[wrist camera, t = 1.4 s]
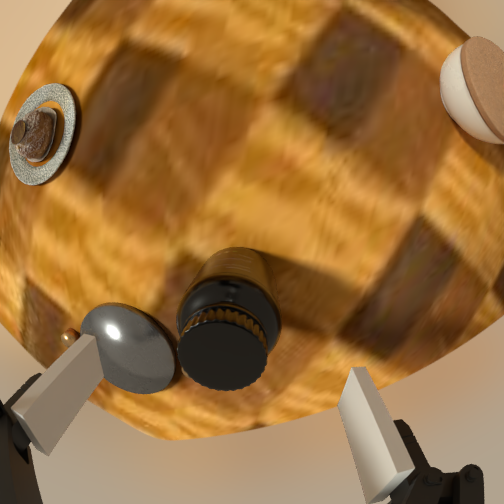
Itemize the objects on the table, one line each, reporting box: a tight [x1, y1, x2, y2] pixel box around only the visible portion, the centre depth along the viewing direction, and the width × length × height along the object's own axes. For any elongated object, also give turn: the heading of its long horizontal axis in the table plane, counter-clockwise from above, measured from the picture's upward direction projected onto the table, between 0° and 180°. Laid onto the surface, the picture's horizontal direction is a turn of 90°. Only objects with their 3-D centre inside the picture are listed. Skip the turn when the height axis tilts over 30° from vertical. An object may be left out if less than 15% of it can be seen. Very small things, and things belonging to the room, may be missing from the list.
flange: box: [61, 303, 190, 394], centre depth 27 cm, size 12×18×2 cm, turn 85°
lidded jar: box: [440, 37, 504, 144], centre depth 15 cm, size 11×11×9 cm
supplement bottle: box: [176, 247, 282, 391], centre depth 19 cm, size 7×7×12 cm
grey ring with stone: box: [9, 83, 76, 185], centre depth 20 cm, size 12×12×5 cm
